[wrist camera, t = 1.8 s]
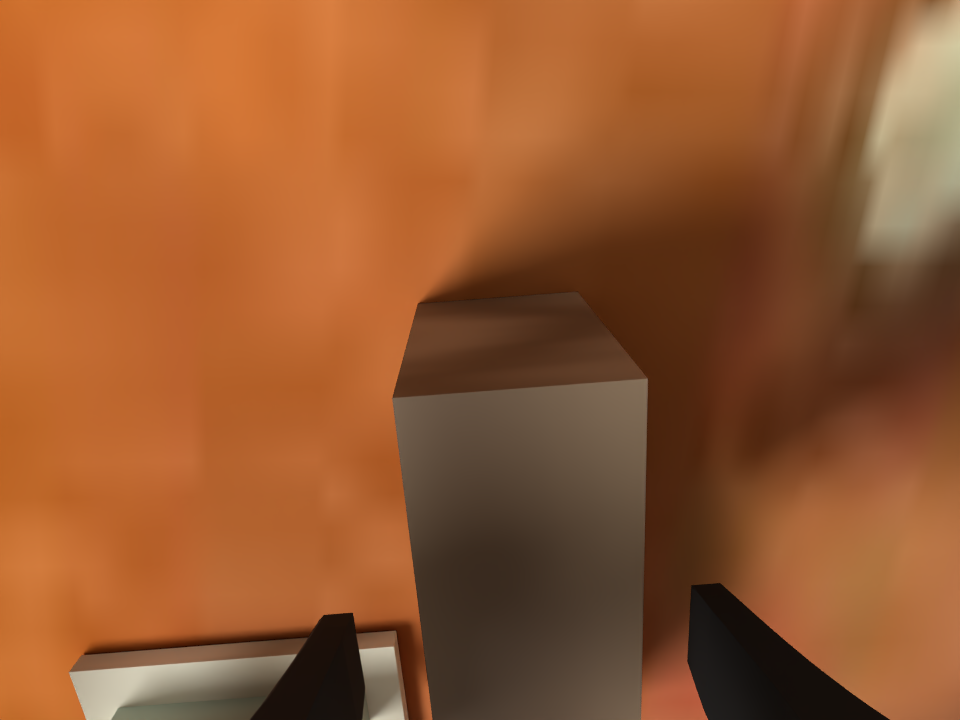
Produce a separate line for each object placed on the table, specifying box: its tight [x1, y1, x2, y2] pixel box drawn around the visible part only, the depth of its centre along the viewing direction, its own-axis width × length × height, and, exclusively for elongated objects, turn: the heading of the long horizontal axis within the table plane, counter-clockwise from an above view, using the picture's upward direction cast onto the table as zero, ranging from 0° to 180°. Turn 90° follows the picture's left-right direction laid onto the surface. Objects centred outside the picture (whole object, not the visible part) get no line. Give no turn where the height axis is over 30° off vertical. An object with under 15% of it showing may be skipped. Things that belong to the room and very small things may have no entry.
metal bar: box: [392, 292, 648, 720], centre depth 14 cm, size 4×13×6 cm, turn 4°
